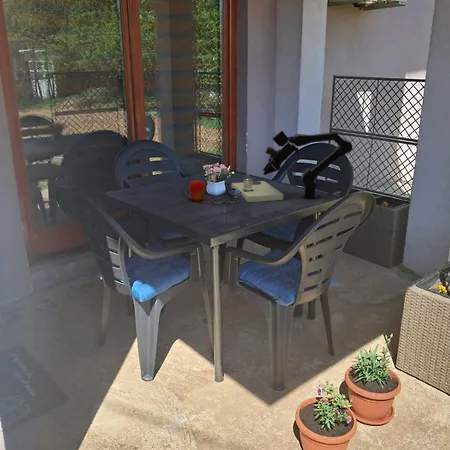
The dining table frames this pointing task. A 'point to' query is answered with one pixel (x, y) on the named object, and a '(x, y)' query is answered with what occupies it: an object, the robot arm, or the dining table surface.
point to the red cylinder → (197, 190)
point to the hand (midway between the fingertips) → (263, 172)
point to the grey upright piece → (248, 183)
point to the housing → (259, 192)
